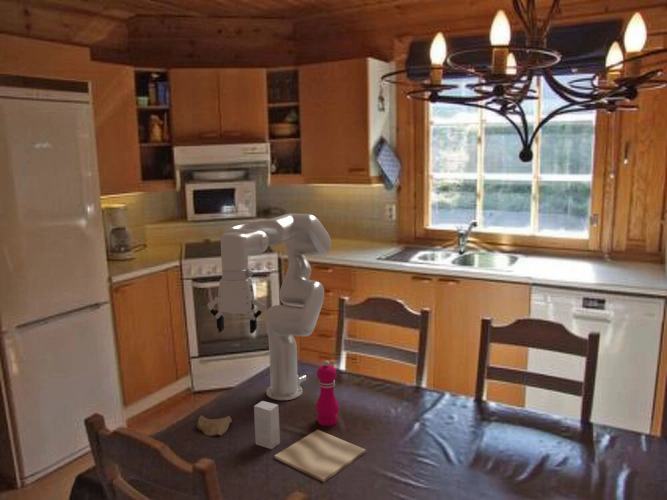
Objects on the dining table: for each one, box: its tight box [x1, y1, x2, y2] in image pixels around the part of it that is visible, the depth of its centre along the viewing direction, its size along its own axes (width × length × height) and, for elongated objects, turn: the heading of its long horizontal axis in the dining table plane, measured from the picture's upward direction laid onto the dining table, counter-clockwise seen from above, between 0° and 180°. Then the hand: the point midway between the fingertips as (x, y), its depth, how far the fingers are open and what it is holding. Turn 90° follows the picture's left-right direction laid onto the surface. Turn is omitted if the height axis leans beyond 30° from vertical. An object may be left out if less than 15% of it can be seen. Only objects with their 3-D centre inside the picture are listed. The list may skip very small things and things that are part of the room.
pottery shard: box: [196, 415, 233, 437], centre depth 169 cm, size 11×4×10 cm
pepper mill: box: [315, 360, 340, 427], centre depth 170 cm, size 7×7×20 cm
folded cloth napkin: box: [274, 429, 367, 483], centre depth 153 cm, size 18×18×1 cm
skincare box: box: [253, 400, 281, 450], centre depth 158 cm, size 6×4×12 cm
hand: (236, 331), depth 163 cm, fingers open, 9 cm apart
